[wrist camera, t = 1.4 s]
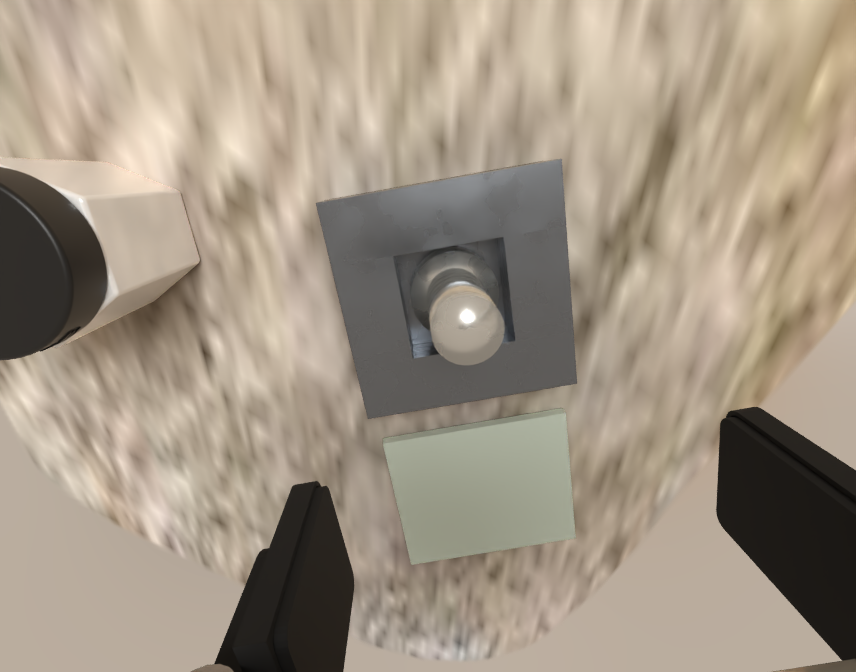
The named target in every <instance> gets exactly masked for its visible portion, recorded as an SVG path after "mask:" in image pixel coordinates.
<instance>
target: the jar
mask: <svg viewBox="0 0 856 672" xmlns="http://www.w3.org/2000/svg"><path fill="white" fill-rule="evenodd" d="M199 262H200V258H199V255H198V251H197V248H196V244H195V241H194V238H193V234H192V231H191V227H190V224H189V220H188V217H187V214H186V210H185V207H184V203H183V200H182V196H181V193H180V192H179V191H178V190H176V189H174V188H171V187H169V186H166V185H164V184H161V183H159V182H156V181H154V180H151V179H149V178H146V177H144V176H141V175H139V174H136V173H134V172H131V171H129V170H126V169H124V168H121V167H119V166H116V165H114V164H111V163H109V162H96V161H74V160H52V159H30V158H8V157H0V360H10V359H16V358H21V357H25V356H28V355H31V354H33V353H36V352H38V351H43V350H46V349H48V348H50V347H53V348H59V347H62V346H64V345H66V344H68V343H70V342H72V341H74V340H76V339H78V338H80V337H82V336H84V335H86V334H88V333H90V332H92V331H94V330H96V329H99V328H101V327H103V326H105V325H107V324H109V323H111V322H113V321H115V320H117V319H119V318H121V317H123V316H125V315H127V314H129V313H131V312H133V311H135V310H137V309H139V308H141V307H143V306H146V305H148V304H150V303H152V302H154V301H155V300H156V299H157V298H159V297H160V296H161V295H162V294H163V293H164V292H166V291H167V290H168V289H169V288H170V287H171V286H173V285H174V284H175V283H176V282H177V281H178V280H180V279H181V278H182V277H183V276H184V275H185V274H187V273H188V272H189V271H190V270H191V269H192V268H194V267H195V266H196V265H197V264H198V263H199Z"/></svg>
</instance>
